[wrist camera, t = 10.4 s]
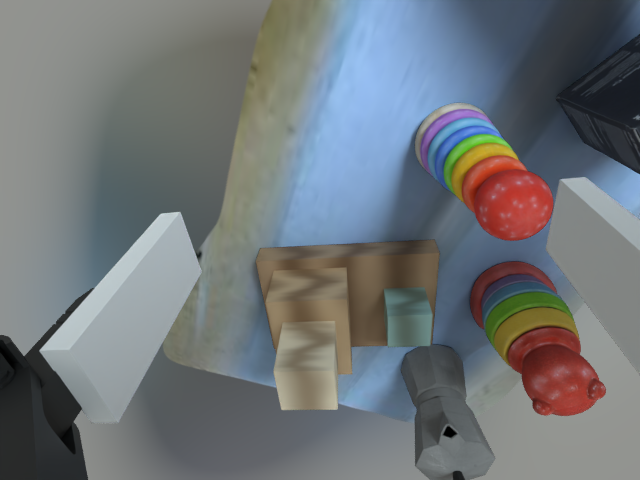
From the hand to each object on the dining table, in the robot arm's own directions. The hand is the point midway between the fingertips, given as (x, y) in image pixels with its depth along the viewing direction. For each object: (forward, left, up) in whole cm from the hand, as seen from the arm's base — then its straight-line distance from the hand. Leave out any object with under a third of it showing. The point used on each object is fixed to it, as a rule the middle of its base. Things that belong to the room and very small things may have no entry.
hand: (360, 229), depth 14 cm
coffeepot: (-11, +42, -30) cm, 53 cm away
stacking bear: (-20, +27, -30) cm, 45 cm away
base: (+1, +26, -30) cm, 40 cm away
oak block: (+6, +27, -21) cm, 34 cm away
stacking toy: (-11, +6, -30) cm, 32 cm away
